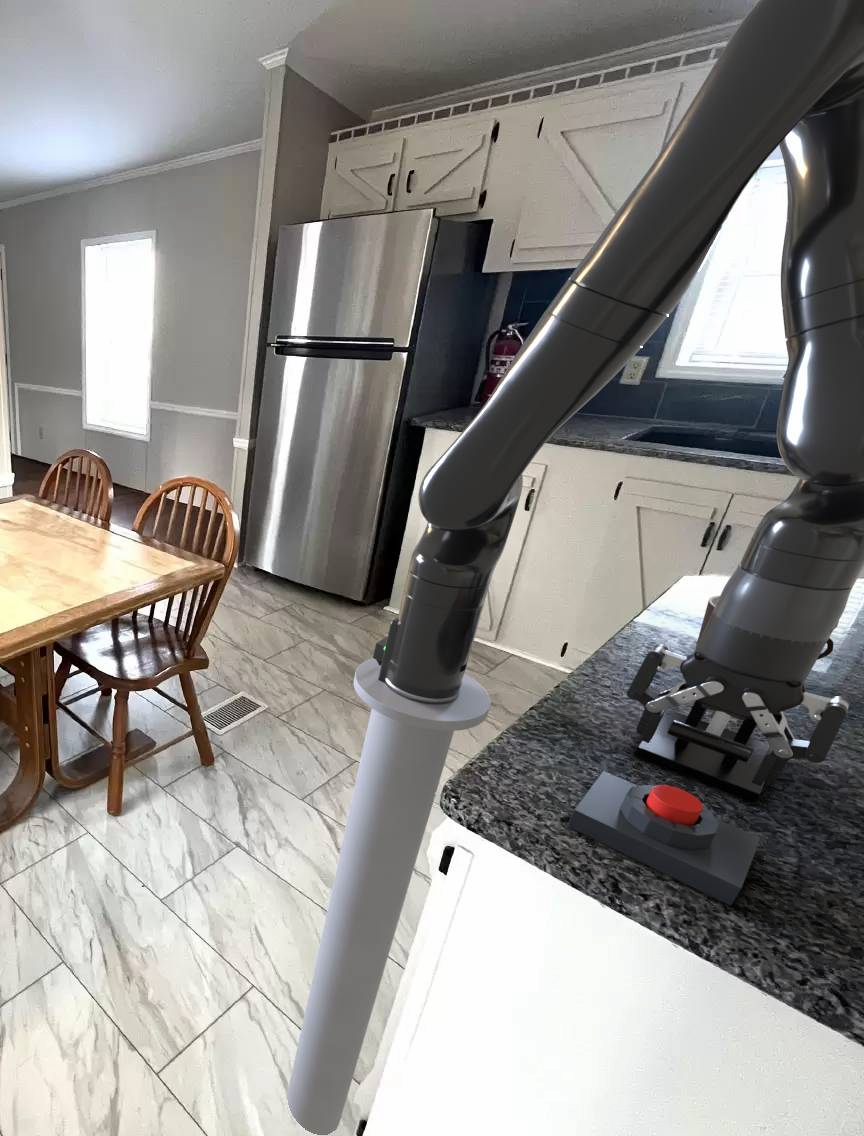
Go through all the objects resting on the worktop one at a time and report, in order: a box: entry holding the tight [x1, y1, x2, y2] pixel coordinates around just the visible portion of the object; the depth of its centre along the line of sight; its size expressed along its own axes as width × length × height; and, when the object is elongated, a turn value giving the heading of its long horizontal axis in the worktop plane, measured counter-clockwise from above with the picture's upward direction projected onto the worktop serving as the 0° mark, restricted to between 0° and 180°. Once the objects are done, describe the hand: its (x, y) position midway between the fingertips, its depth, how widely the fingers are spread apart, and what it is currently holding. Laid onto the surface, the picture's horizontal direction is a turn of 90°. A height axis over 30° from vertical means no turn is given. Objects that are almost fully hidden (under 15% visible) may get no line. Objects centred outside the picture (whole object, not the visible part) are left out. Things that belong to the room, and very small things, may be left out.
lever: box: [667, 711, 754, 762], centre depth 66 cm, size 13×6×2 cm, turn 127°
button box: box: [566, 771, 761, 907], centre depth 61 cm, size 12×9×4 cm
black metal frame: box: [633, 700, 770, 803], centre depth 70 cm, size 12×10×13 cm
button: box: [646, 784, 704, 826], centre depth 60 cm, size 4×4×2 cm
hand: (699, 759), depth 65 cm, fingers open, 8 cm apart
